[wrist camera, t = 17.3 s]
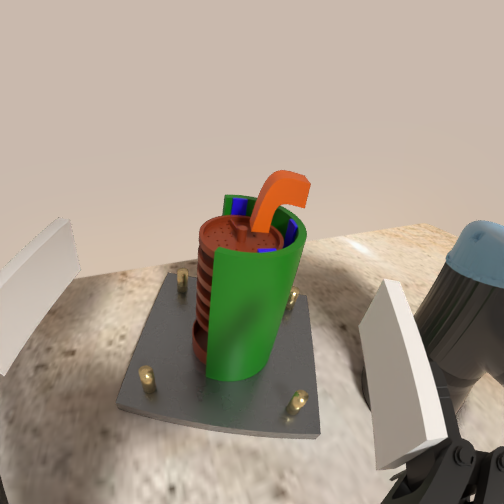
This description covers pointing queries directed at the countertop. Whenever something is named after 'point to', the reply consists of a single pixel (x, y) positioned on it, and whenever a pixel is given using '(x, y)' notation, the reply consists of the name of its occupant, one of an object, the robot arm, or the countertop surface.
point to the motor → (247, 276)
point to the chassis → (222, 392)
